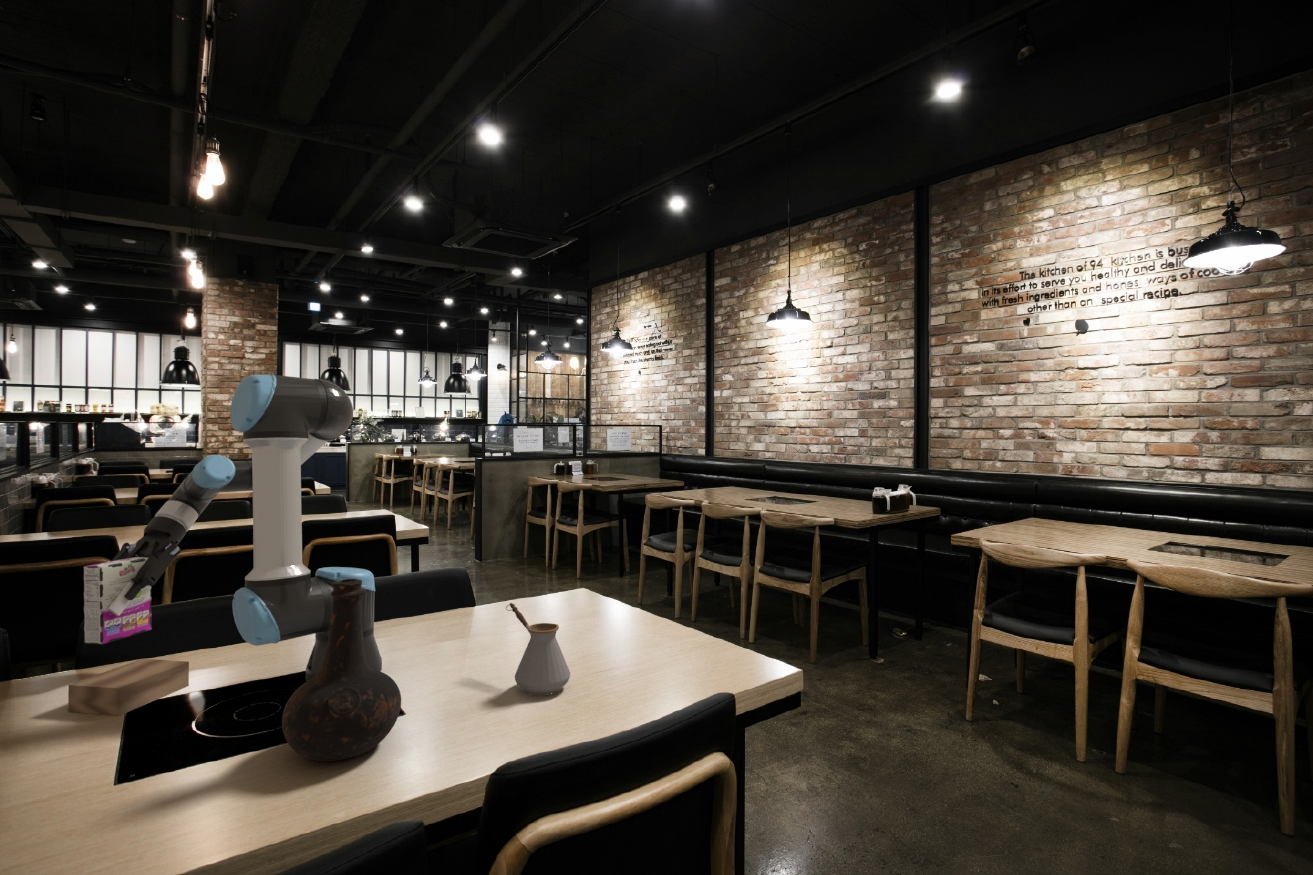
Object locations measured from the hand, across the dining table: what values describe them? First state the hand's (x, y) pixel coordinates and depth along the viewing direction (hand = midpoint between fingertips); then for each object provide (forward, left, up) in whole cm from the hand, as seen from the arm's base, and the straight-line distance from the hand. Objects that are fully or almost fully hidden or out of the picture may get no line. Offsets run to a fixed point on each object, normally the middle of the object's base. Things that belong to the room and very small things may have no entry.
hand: (101, 611), depth 137 cm
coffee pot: (-90, -14, -15) cm, 92 cm away
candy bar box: (0, -4, -7) cm, 8 cm away
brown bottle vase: (-69, +20, -15) cm, 73 cm away
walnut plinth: (-15, +7, -15) cm, 22 cm away
